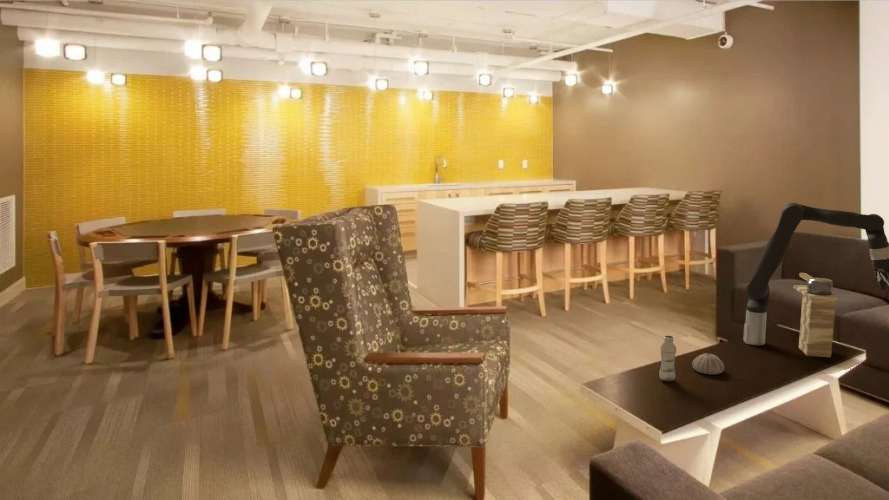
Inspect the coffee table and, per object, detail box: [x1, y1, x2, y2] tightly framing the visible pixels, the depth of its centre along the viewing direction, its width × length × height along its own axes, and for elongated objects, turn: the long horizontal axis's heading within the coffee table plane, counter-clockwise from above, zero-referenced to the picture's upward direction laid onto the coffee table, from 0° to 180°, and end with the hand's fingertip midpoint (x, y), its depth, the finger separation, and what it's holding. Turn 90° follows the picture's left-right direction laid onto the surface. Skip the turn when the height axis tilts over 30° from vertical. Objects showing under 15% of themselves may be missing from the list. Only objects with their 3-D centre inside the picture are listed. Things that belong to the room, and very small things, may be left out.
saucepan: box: [798, 272, 833, 296], centre depth 271 cm, size 29×10×7 cm, turn 164°
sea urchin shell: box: [691, 352, 725, 376], centre depth 248 cm, size 13×14×8 cm
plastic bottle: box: [658, 335, 677, 382], centre depth 238 cm, size 6×7×20 cm
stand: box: [793, 284, 839, 358], centre depth 269 cm, size 22×12×30 cm, turn 164°
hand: (888, 291), depth 248 cm, fingers open, 8 cm apart
